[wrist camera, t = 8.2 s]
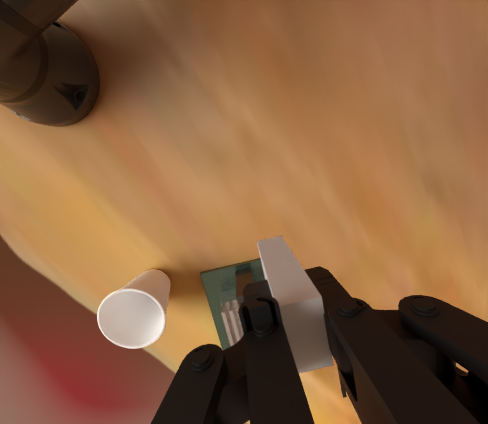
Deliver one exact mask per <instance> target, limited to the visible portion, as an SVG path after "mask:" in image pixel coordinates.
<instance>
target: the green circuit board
mask: <svg viewBox="0 0 488 424" xmlns="http://www.w3.org/2000/svg"><path fill="white" fill-rule="evenodd" d="M200 275H201V279H202V282H203V285H204V289H205V292H206V295H207V299H208V302H209V306H210V309H211V312H212V316H213V319H214V323H215V326H216V329H217V333H218V336H219V339H220V343H221V346H222V350H225V349H227V348H229V347H231V346H232V345H234V344H235V343H237V342H238V341H239V340H240V339H241V338H242V336H243V335H244V333H243V329H242V325H241V321H240V318H239V314H238V310H239V303H243V302H244V300H243V290H244V288H245V286H246V284H249V283H254V282H258V281H262V280H265V276H264V271H263V267H262V263H261V258H259V259H254V260H250V261H246V262H242V263H238V264H234V265H229V266H225V267H221V268H217V269H213V270H208V271H204V272H201V273H200Z"/></svg>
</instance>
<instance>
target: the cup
mask: <svg viewBox="0 0 488 424" xmlns="http://www.w3.org/2000/svg"><path fill="white" fill-rule="evenodd" d="M170 287H171V283H170V279H169V278H168V276H167V275H166V274H165V273H164V272H162V271H160V270H156V269H150V270H147V271H144V272H143V273H141V274H140V275H139V276H137V277H136V278H135V279H133V280H132V281H130V282H129V283H127V284H126V285H125V286H123V287H122V288H120V289H119V290H117V291H115V292H112V293H111V294H109V295H108V296H107V297H106V298H105V299H104V300H103V301H102V303H101V304H100V306H99V309H98V314H97V319H98V325H99V328H100V330H101V331H102V333H103V334H104V335H105V337H106V338H107V339H109V340H110V341H111V342H112V343H114V344H116V345H118V346H122V347H124V348H142V347H146V346H148V345H150V344H152V343H154V342H155V341H156V340H157V339H158V338H159V337H160V336H161V335H162V333H163V332H164V329H165V326H166V311H167V305H168V299H169V293H170Z"/></svg>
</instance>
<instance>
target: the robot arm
mask: <svg viewBox="0 0 488 424" xmlns="http://www.w3.org/2000/svg"><path fill="white" fill-rule="evenodd" d="M77 1H78V0H0V104H2V105H4V106H5V107H7V108H8V109H10V110H11V111H12V112H14V113H15V114H17V115H18V116H20V117H22V118H24V119H26V120H29V121H31V122H34V123H38V124H43V125H48V126H67V125H70V124H73V123H76V122H78V121H79V120H81V119H82V118H84V117H85V116H86V115H87V114H88V113H89V112H90V111H91V109H92V108H93V106H94V104H95V102H96V100H97V96H98V92H99V73H98V68H97V65H96V62H95V60H94V57H93V55H92V53H91V52H90V50H89V49H88V47H87V46H86V45H85V43H84V42H83V41H82V40H81V39H80V38H79V37H78V36H77V35H76V34H74V33H73V32H72V31H71V30H69V29H68V28H67V27H65V26H64V25H63V24H61V23H59V22H58V21H56V20H57V19H58V18H60V17H61V16H62V15H63V14H64V13H65V12H66V11H67V10H68V9H69V8H70V7H71V6H73V5H74V4H75V3H76V2H77ZM257 245H258V249H259V254H260V258H261V263H262V267H263V271H264V276H265V280H262V281H258V282H254V283H249V284H246V286H245V288H244V290H243V300H244V302H243V303H242V304H241V306H240V307H239V310H238V314H239V318H240V321H241V325H242V329H243V333H244V335H243V336H242V338H241V339H240V340H239V341H238V342H237V343H235V344H234V345H232V346H231V347H229V348H227V349H225V350H223V351H222V349H221V348H220V347H219V346H217V345H214V344H206V345H201V346H199V347H197V348H195V349H193V350H192V351H191V352H190V353H189V354H187V355H186V357H185V358H184V360H183V361H182V363H181V365H180V367H179V369H178V371H177V373H176V375H175V377H174V379H173V381H172V383H171V385H170V387H169V389H168V391H167V393H166V395H165V397H164V399H163V401H162V403H161V405H160V407H159V409H158V410H157V413H156V415H155V417H154V418H153V420H152V422H151V424H244V423H246V422H247V421H249V420H250V424H314V420H313V417H312V414H311V411H310V408H309V405H308V401H307V398H306V395H305V392H304V389H303V386H302V382H301V379H300V376H299V373H303V372H307V371H311V370H315V369H320V368H324V367H328V366H333V359H332V355H333V357H334V359H335V361H336V363H337V367H338V373H339V379H340V384H341V390H342V395H343V398H344V397H347V396H346V392H347V394H348V396H349V398H350V400H351V402H352V404H353V406H354V408H355V410H356V412H357V414H358V416H359V419H360V421H361V423H362V424H488V322H486V321H484V320H482V319H480V318H478V317H476V316H473V315H471V314H469V313H467V312H465V311H463V310H461V309H459V308H456V307H454V306H452V305H450V304H448V303H446V302H444V301H442V300H439V299H436V298H433V297H429V296H423V295H412V296H408V297H404V298H403V299H402V300H400V302H399V305H398V307H399V310H375V309H372V308H371V307H370V306H369V305H368V304H367V303H366V302H364V301H363V300H360V299H357V298H352V297H351V296H350V295H349V294H348V292H347V291H346V290H345V289H344V288H343V287H342V285H341V284H340V283H339V282H338V281H337V280H336V279H335V277H333V275H332V274H331V273H330V272H329V271H328V270H327V269H324V268H322V267H320V266H319V267H315V268H310V269H306V270H304V269H303V267H302V266H301V264H300V263H299V261H298V260H297V258H296V257H295V255H294V254H293V252H292V251H291V249H290V248H289V246H288V245H287V243H286V241H285V240H284V238H283V237H282V236H277V237H273V238H269V239H264V240H260V241H257ZM456 363H458V364H459V365H461V366H462V367H464V368H465V369H467V370H468V373H467V372H464V371H462V370H461V369H459V368H458V367H456Z"/></svg>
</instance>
